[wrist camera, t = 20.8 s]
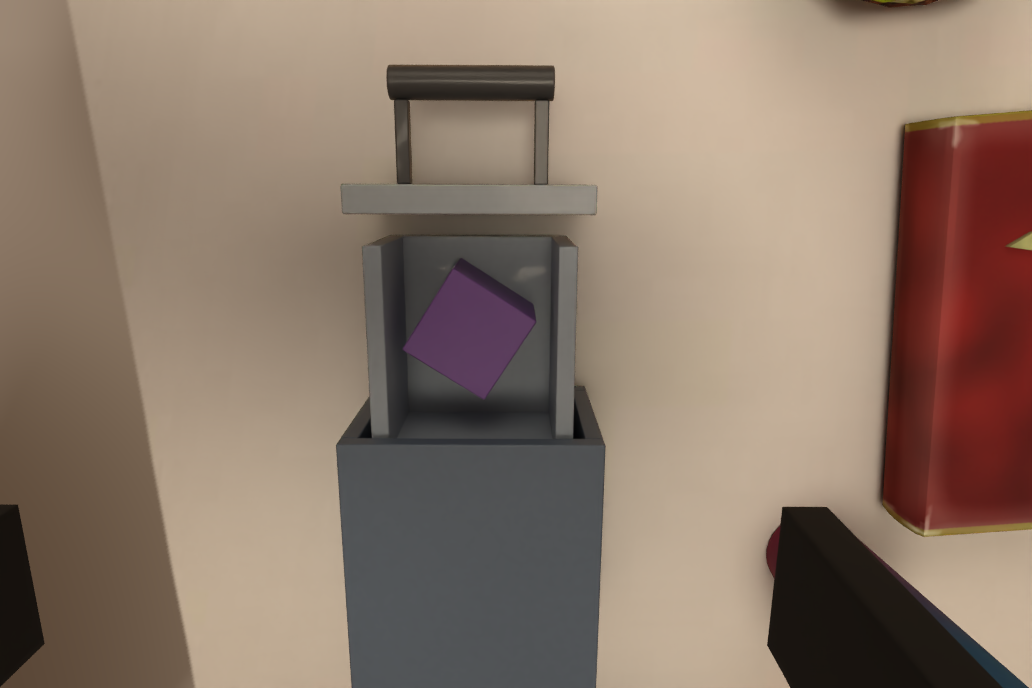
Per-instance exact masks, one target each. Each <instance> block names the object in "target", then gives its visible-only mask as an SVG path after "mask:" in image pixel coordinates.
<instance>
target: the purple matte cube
mask: <svg viewBox="0 0 1032 688" xmlns="http://www.w3.org/2000/svg"><path fill="white" fill-rule="evenodd" d="M535 324H536V316H535V310H534V305H533V303H531V302H529V301H528V300H526V299H525V298H523V297H522V296H520V295H519V294H517V293H515V292H514V291H512V290H511V289H509V288H508V287H506V286H505V285H503V284H501V283H500V282H498V281H497V280H495V279H494V278H492V277H491V276H489V275H487V274H486V273H484V272H483V271H481V270H480V269H478V268H477V267H475V266H473V265H472V264H470V263H469V262H467V261H466V260H464V259H462V258H460V259H459V261H458V262H457V263H456V265H455V266H454V267H453V269H452V270H451V272H450V273H449V275H448V277H447V278H446V280H445V281H444V283H443V284H442V286H441V288H440V289H439V291H438V292H437V294H436V296H435V297H434V299H433V300H432V302H431V304H430V305H429V307H428V308H427V310H426V312H425V313H424V315H423V316H422V318H421V320H420V321H419V323H418V324H417V326H416V328H415V329H414V331H413V332H412V334H411V336H410V337H409V339H408V340H407V342H406V344H405V345H404V347H403V349H402V350H403V351H405V352H406V353H408V354H410V355H411V356H413V357H414V358H416V359H418V360H419V361H421V362H423V363H424V364H426V365H427V366H429V367H431V368H432V369H434V370H436V371H437V372H439V373H441V374H442V375H444V376H445V377H447V378H449V379H450V380H452V381H454V382H455V383H457V384H459V385H460V386H462V387H463V388H465V389H467V390H468V391H470V392H472V393H473V394H475V395H477V396H478V397H480V398H481V399H486V397H487V396H488V394H489V393H490V391H491V390H492V388H493V387H494V385H495V384H496V382H497V381H498V379H499V378H500V376H501V375H502V373H503V372H504V370H505V369H506V367H507V366H508V364H509V363H510V361H511V360H512V358H513V357H514V355H515V354H516V352H517V351H518V349H519V348H520V346H521V345H522V343H523V342H524V340H525V339H526V337H527V336H528V334H529V333H530V331H531V330H532V328H533V327H534V325H535Z"/></svg>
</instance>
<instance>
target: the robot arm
mask: <svg viewBox="0 0 1032 688" xmlns="http://www.w3.org/2000/svg"><path fill="white" fill-rule="evenodd" d="M42 645H44V638H43V633H42V628H41V623H40V618H39V613H38V607H37V602H36V597H35V592H34V587H33V581H32V576H31V571H30V566H29V561H28V555H27V550H26V545H25V540H24V534H23V529H22V524H21V519H20V513H19V508H18V505H0V686H1V685H3V683H5V681H7V680H8V679H9V678H10V677H11V676H12V675H13V674H14V673H15V672H16V671H17V670H18V669H19V668H20V667H21V666H22V665H23V664H24V663H25V662H26V661H27V660H28V659H29V658H30V657H31V656H32V655H33V654H34V653H35V652H36V651H37V650H38V649H40V647H41V646H42ZM767 646H768V647H769V649H770V651H771V653H772V655H773V657H774V658H775V660H776V662H777V664H778V666H779V667H780V669H781V671H782V673H783V675H784V677H785V678H786V680H787V682H788V684H789V686H790V687H791V688H1003V687H1002V686H1001V685H1000V684H999V683H998V682H997V681H996V680H995V679H994V678H993V677H992V676H991V675H990V674H989V673H988V672H987V671H986V670H985V669H984V668H983V667H982V666H981V665H980V664H979V663H978V662H977V661H976V660H975V658H974V657H973V656H972V655H971V654H970V653H969V652H968V651H967V650H966V649H965V648H964V647H963V646H962V645H961V644H960V643H959V642H958V641H957V640H956V639H955V638H954V637H953V636H952V635H951V634H950V633H949V632H948V631H947V630H946V629H945V628H944V627H943V626H942V625H941V624H940V623H939V622H938V621H937V619H936V618H935V617H934V616H933V615H932V614H931V613H930V612H929V611H928V610H927V609H926V608H925V607H924V606H923V605H922V604H921V603H920V602H919V601H918V600H917V599H916V598H915V597H914V596H913V595H912V594H911V593H910V592H909V591H908V590H907V589H906V588H905V587H904V586H903V585H902V584H901V583H900V582H899V580H898V579H897V578H896V577H895V576H894V575H893V574H892V573H891V572H890V571H889V570H888V569H887V568H886V567H885V566H884V565H883V564H882V563H881V562H880V561H879V560H878V559H877V558H876V557H875V556H874V555H873V554H872V553H871V552H870V551H869V550H868V549H867V548H866V547H865V546H864V545H863V544H862V543H861V542H860V540H859V539H858V538H857V537H856V536H855V535H854V534H853V533H852V532H851V531H850V530H849V529H848V528H847V527H846V526H845V525H844V524H843V523H842V522H841V521H840V520H839V519H838V518H837V517H836V516H835V515H834V514H833V513H832V512H831V511H830V510H829V509H828V508H827V507H782V516H781V526H780V535H779V544H778V553H777V562H776V571H775V580H774V589H773V598H772V607H771V616H770V625H769V635H768V644H767Z"/></svg>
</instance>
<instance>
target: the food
mask: <svg viewBox="0 0 1032 688" xmlns="http://www.w3.org/2000/svg"><path fill="white" fill-rule="evenodd" d="M863 1H867V2H871V3H875V4H879V5H883V6H887V7H901V6H915V5H927V4H930V3H933V2H935V1H938V0H863Z"/></svg>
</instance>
